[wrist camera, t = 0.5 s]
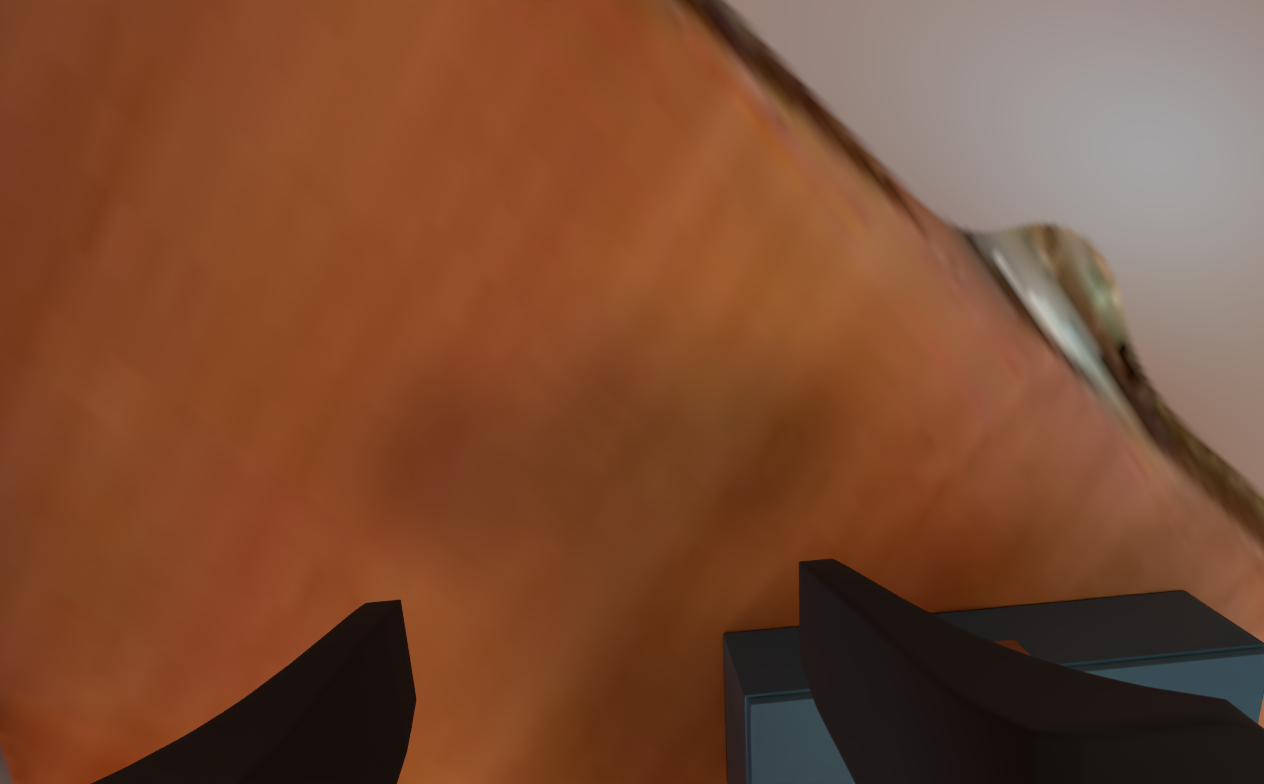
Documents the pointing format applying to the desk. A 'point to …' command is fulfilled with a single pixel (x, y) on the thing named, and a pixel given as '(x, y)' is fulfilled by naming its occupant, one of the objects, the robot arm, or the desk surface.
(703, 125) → the desk surface
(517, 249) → the desk surface
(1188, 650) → the pencil box
